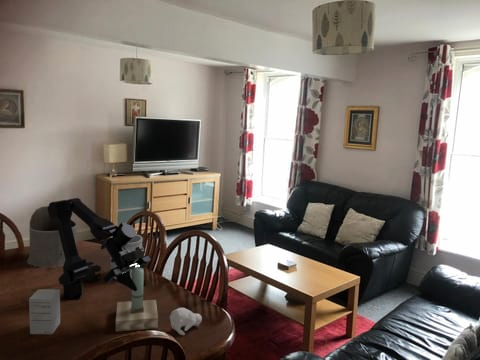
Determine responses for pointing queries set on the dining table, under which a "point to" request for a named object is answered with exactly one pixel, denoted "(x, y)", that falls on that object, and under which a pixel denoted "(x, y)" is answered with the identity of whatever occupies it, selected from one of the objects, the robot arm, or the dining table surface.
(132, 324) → the square hole wooden block
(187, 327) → the white rounded figure
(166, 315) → the dining table surface
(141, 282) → the plug
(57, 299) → the supplement box
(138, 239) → the utensil holder
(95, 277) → the end cap
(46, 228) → the gray lidded bin
